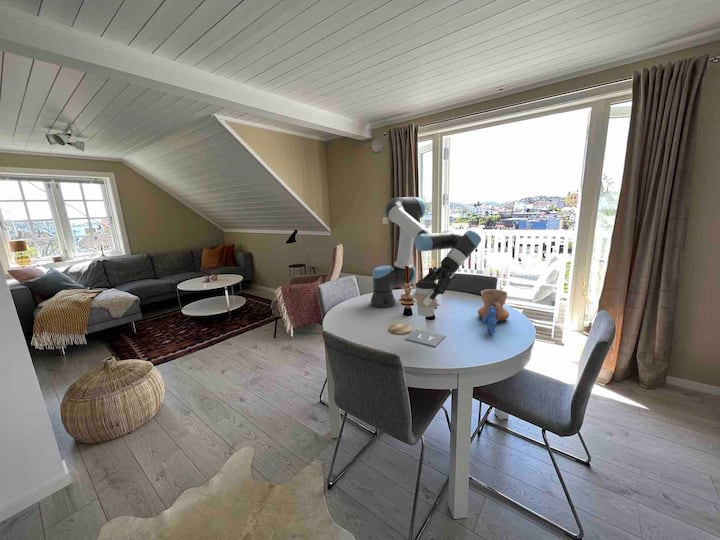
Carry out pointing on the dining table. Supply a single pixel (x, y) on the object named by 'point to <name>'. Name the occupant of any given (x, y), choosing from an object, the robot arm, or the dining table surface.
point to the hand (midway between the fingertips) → (419, 300)
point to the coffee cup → (421, 293)
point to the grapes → (490, 320)
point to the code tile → (425, 338)
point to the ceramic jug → (494, 303)
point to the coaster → (400, 329)
